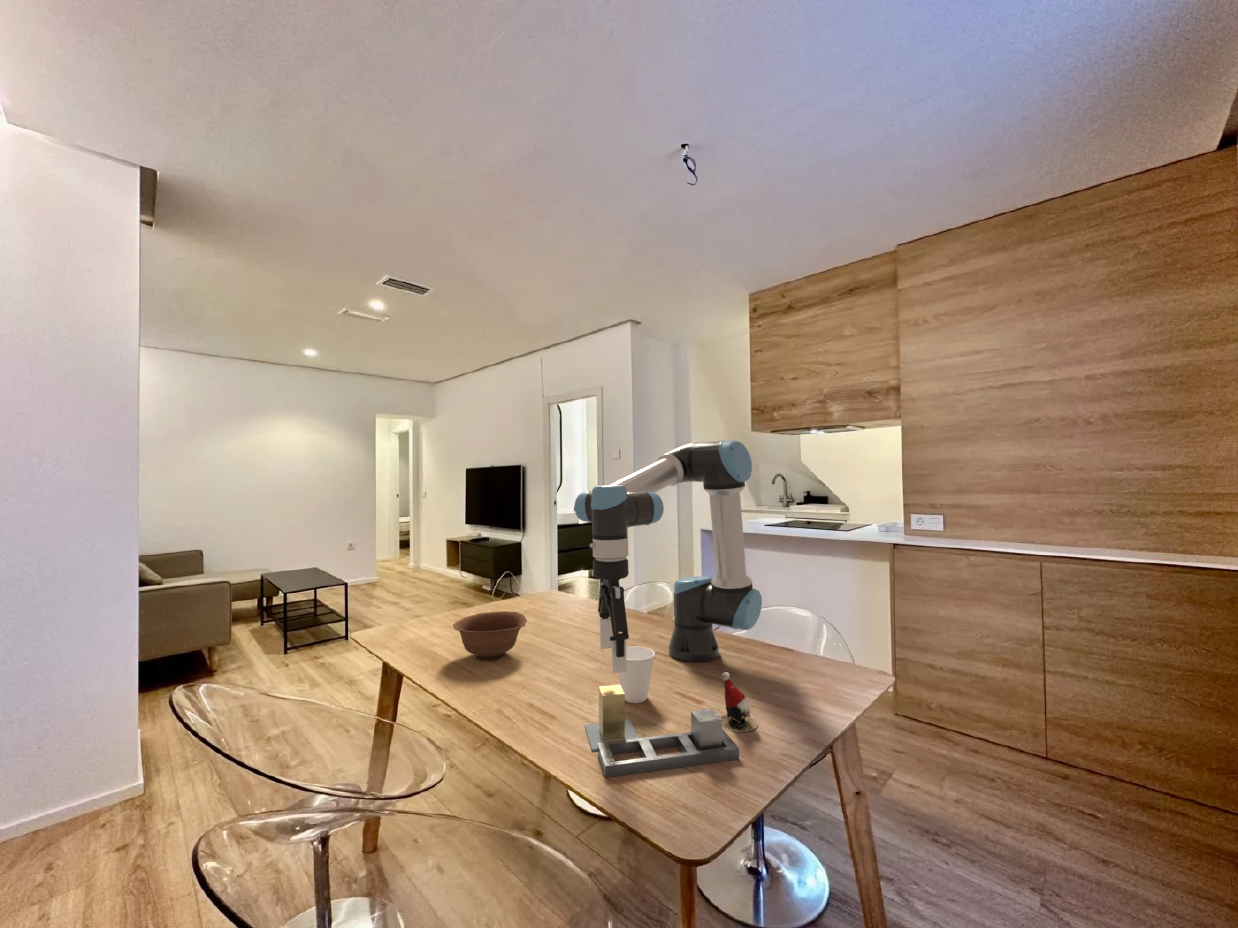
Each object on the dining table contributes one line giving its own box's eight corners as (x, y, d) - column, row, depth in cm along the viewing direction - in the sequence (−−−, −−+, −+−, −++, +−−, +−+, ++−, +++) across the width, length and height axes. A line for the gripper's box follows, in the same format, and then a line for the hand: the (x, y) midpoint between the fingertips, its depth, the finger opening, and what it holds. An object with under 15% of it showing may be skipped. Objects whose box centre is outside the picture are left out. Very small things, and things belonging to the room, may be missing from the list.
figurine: (776, 709, 105) (736, 679, 103) (752, 750, 103) (710, 720, 101) (756, 694, 113) (718, 665, 111) (732, 732, 111) (694, 703, 109)
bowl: (542, 652, 153) (541, 616, 153) (488, 675, 134) (488, 635, 135) (492, 640, 165) (492, 607, 165) (436, 660, 146) (436, 623, 146)
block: (712, 743, 99) (712, 708, 99) (722, 756, 94) (722, 719, 95) (691, 746, 98) (691, 711, 98) (700, 759, 93) (699, 721, 94)
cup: (659, 692, 123) (659, 648, 123) (649, 710, 114) (648, 662, 114) (622, 687, 126) (622, 644, 127) (609, 704, 117) (608, 657, 117)
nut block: (620, 727, 105) (619, 684, 105) (625, 738, 100) (624, 693, 101) (599, 729, 104) (598, 686, 104) (602, 740, 99) (602, 695, 100)
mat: (629, 721, 108) (629, 719, 108) (641, 745, 98) (641, 743, 98) (584, 726, 106) (584, 724, 106) (591, 751, 96) (591, 749, 96)
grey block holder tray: (722, 737, 101) (721, 727, 101) (739, 759, 93) (739, 748, 93) (597, 753, 96) (597, 742, 96) (605, 777, 88) (605, 766, 88)
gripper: (584, 550, 115) (586, 641, 115) (603, 570, 91) (606, 686, 90) (615, 548, 117) (617, 638, 116) (642, 567, 92) (645, 681, 92)
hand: (612, 659), depth 103 cm, fingers open, 13 cm apart
